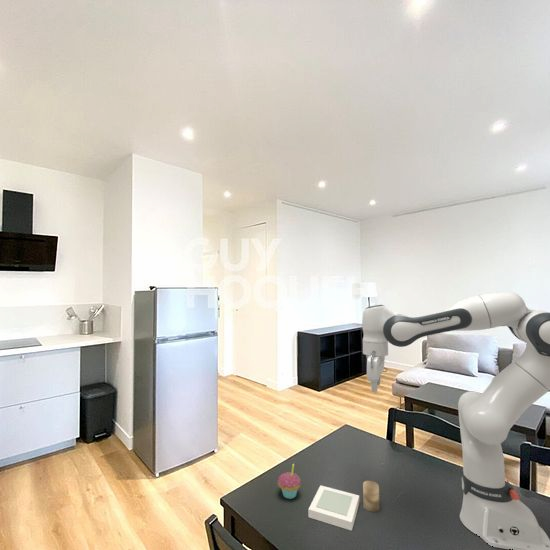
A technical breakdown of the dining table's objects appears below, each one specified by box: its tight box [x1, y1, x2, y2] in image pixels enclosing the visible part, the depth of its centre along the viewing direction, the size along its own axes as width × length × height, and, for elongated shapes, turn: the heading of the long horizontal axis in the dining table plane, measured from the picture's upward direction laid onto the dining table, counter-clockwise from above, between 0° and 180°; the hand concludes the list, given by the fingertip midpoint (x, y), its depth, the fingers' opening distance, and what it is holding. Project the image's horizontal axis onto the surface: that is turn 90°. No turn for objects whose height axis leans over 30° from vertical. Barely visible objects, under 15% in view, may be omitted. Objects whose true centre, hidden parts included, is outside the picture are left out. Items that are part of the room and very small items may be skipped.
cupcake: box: [277, 462, 302, 500], centre depth 111 cm, size 9×8×12 cm
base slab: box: [307, 484, 360, 531], centre depth 103 cm, size 14×14×3 cm
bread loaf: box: [362, 480, 380, 513], centre depth 105 cm, size 5×5×7 cm
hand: (376, 388), depth 110 cm, fingers open, 8 cm apart
